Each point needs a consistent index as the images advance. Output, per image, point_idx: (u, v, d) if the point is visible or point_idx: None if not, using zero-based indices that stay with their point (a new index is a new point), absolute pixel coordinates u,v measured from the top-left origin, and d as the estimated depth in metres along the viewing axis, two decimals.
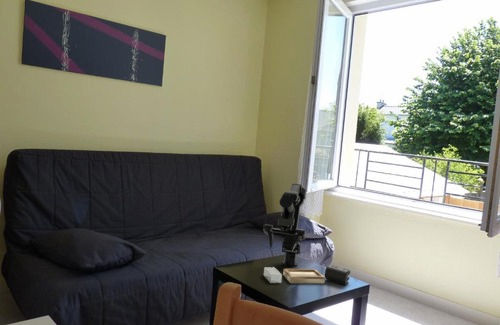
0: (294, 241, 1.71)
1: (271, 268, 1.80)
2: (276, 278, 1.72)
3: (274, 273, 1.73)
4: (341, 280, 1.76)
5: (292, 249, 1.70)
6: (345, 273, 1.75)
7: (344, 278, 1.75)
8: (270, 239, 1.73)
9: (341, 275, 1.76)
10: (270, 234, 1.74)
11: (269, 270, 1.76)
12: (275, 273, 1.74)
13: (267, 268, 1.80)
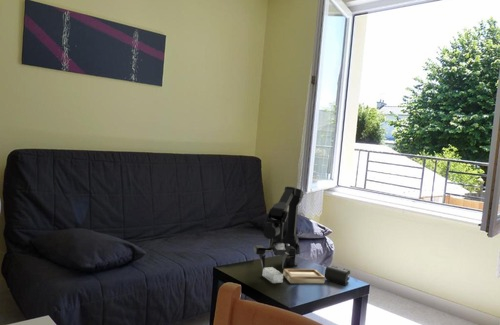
0: (286, 260, 1.77)
1: (270, 268, 1.80)
2: (278, 278, 1.72)
3: (275, 273, 1.73)
4: (341, 280, 1.76)
5: None
6: (345, 273, 1.75)
7: (344, 278, 1.75)
8: (263, 261, 1.74)
9: (341, 275, 1.76)
10: (263, 257, 1.73)
11: (270, 271, 1.76)
12: (277, 273, 1.74)
13: (266, 268, 1.79)
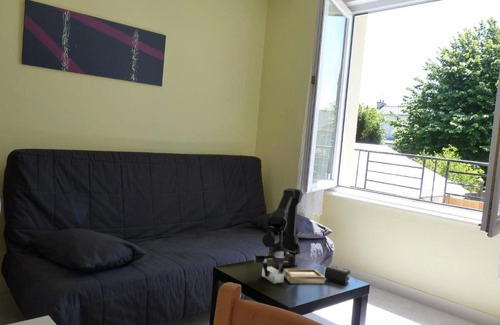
0: (282, 268, 1.76)
1: (269, 267, 1.80)
2: (279, 277, 1.73)
3: (276, 272, 1.74)
4: (341, 280, 1.76)
5: None
6: (345, 273, 1.75)
7: (344, 278, 1.75)
8: (265, 269, 1.75)
9: (341, 275, 1.76)
10: (266, 265, 1.74)
11: (270, 270, 1.76)
12: (277, 272, 1.74)
13: None
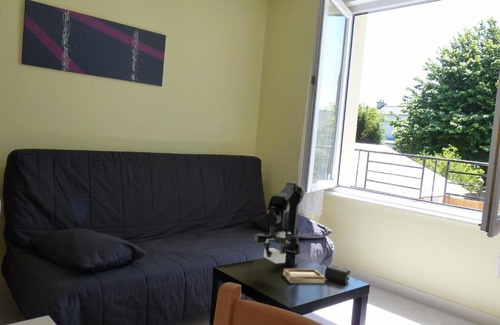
0: (284, 249, 1.76)
1: (271, 248, 1.79)
2: (281, 257, 1.72)
3: (278, 253, 1.73)
4: (341, 280, 1.76)
5: None
6: (345, 273, 1.75)
7: (344, 278, 1.75)
8: (267, 250, 1.74)
9: (341, 275, 1.76)
10: (267, 245, 1.73)
11: (272, 251, 1.76)
12: (279, 252, 1.74)
13: None
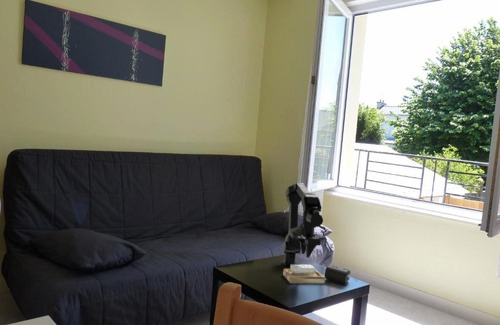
0: (306, 248, 1.76)
1: (309, 266, 1.80)
2: (292, 270, 1.79)
3: (295, 265, 1.80)
4: (341, 280, 1.76)
5: (306, 256, 1.77)
6: (345, 273, 1.75)
7: (344, 278, 1.75)
8: (300, 245, 1.83)
9: (341, 275, 1.76)
10: (299, 241, 1.83)
11: (301, 265, 1.81)
12: (296, 266, 1.79)
13: (308, 265, 1.82)
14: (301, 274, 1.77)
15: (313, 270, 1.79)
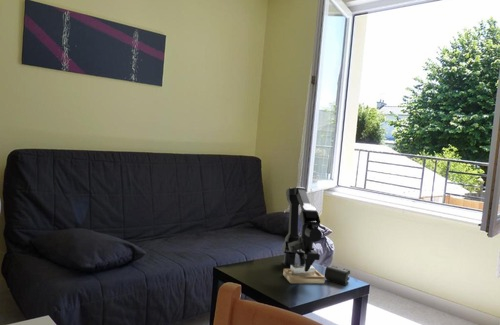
0: (305, 262, 1.76)
1: None
2: (292, 270, 1.79)
3: (295, 265, 1.80)
4: (341, 280, 1.76)
5: (305, 270, 1.77)
6: (345, 273, 1.75)
7: (344, 278, 1.75)
8: (299, 259, 1.83)
9: (341, 275, 1.76)
10: (298, 254, 1.83)
11: (301, 265, 1.81)
12: (296, 266, 1.79)
13: None
14: (301, 274, 1.77)
15: (313, 270, 1.79)
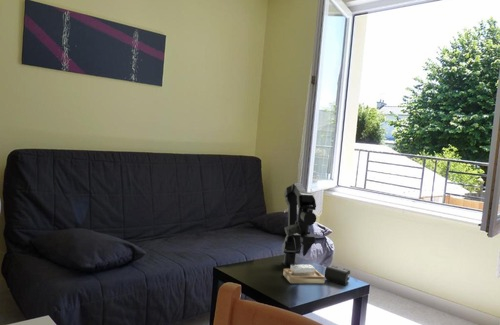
0: (302, 247, 1.78)
1: (309, 266, 1.80)
2: (292, 270, 1.79)
3: (295, 265, 1.80)
4: (341, 280, 1.76)
5: (303, 254, 1.79)
6: (345, 273, 1.75)
7: (344, 278, 1.75)
8: (294, 241, 1.89)
9: (341, 275, 1.76)
10: (293, 237, 1.89)
11: (301, 265, 1.81)
12: (296, 266, 1.79)
13: (308, 265, 1.82)
14: (301, 274, 1.77)
15: (313, 270, 1.79)
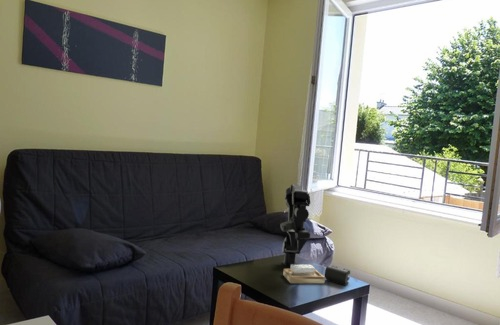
0: (297, 242, 1.82)
1: (309, 266, 1.80)
2: (292, 270, 1.79)
3: (295, 265, 1.80)
4: (341, 280, 1.76)
5: (298, 249, 1.82)
6: (345, 273, 1.75)
7: (344, 278, 1.75)
8: (290, 238, 1.92)
9: (341, 275, 1.76)
10: (289, 234, 1.92)
11: (301, 265, 1.81)
12: (296, 266, 1.79)
13: (308, 265, 1.82)
14: (301, 274, 1.77)
15: (313, 270, 1.79)
